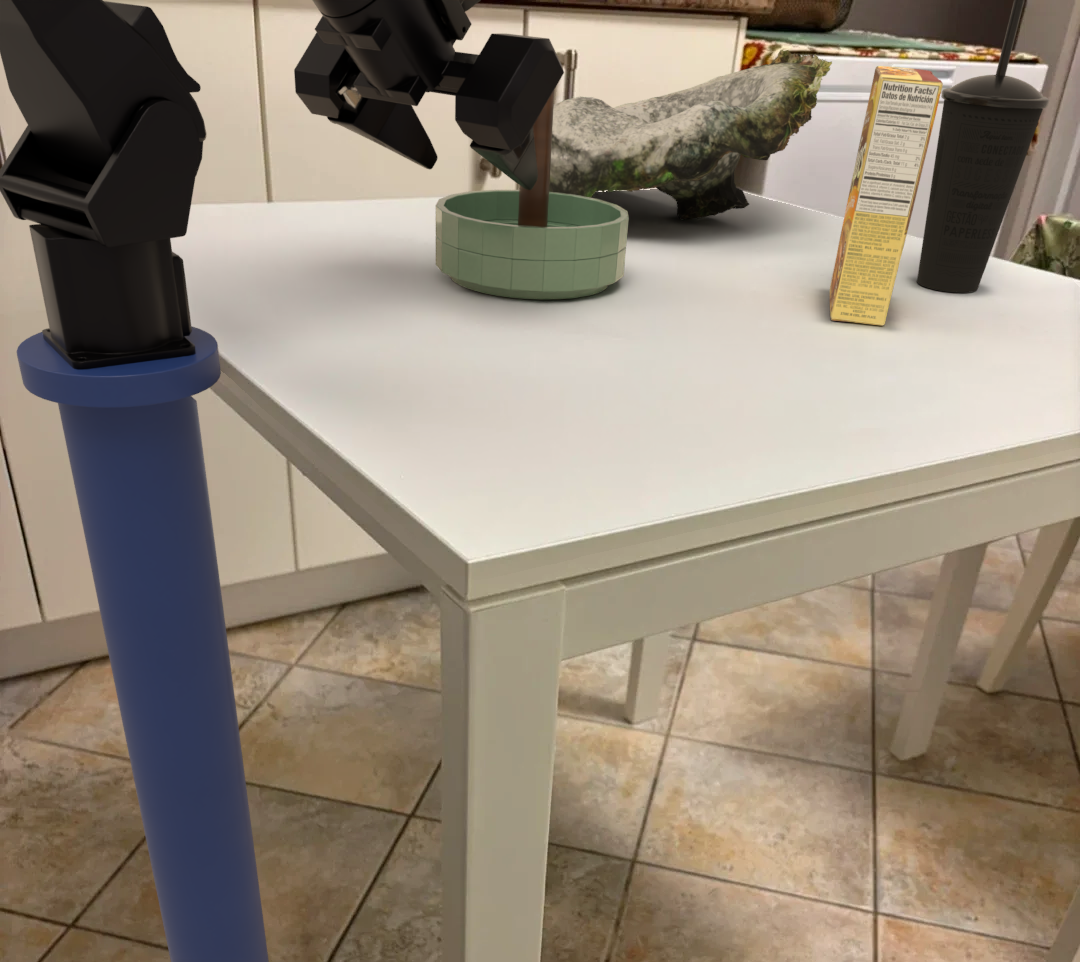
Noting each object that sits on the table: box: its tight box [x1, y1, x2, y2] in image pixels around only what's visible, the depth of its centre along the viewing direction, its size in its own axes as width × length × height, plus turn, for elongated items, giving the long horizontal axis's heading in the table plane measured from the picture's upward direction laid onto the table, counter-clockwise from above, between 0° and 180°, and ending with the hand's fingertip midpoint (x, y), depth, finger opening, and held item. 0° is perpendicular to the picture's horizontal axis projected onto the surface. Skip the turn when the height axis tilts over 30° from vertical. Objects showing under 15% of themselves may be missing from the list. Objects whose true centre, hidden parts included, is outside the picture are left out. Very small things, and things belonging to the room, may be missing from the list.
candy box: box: [829, 65, 944, 326], centre depth 78 cm, size 9×4×15 cm, turn 168°
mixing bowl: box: [435, 189, 630, 301], centre depth 83 cm, size 14×14×5 cm
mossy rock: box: [549, 49, 833, 221], centre depth 104 cm, size 29×30×15 cm
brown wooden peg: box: [518, 90, 555, 227], centre depth 80 cm, size 4×4×13 cm
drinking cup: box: [916, 0, 1050, 294], centre depth 84 cm, size 8×8×20 cm
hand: (481, 173), depth 76 cm, fingers open, 9 cm apart
